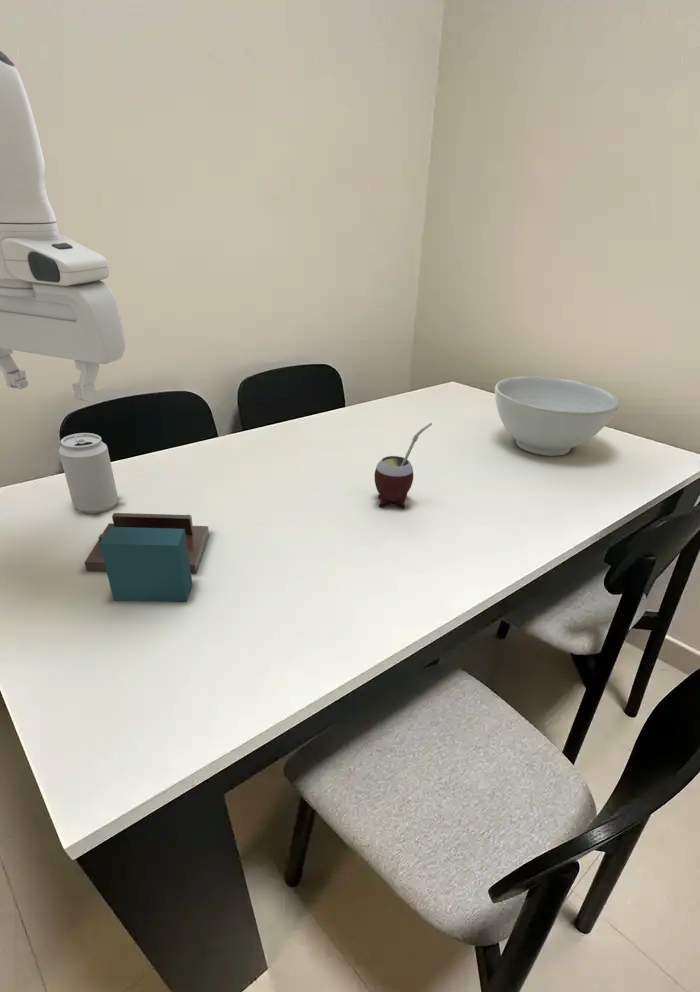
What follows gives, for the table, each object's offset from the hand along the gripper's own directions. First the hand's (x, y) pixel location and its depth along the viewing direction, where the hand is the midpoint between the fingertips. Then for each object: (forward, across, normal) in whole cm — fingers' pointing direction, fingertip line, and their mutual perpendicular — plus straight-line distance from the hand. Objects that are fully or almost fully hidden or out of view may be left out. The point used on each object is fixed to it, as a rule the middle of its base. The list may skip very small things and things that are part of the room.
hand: (52, 393), depth 68 cm
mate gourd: (+26, +34, +42) cm, 60 cm away
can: (+26, -15, +20) cm, 36 cm away
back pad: (+26, +9, 0) cm, 28 cm away
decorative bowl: (+26, +59, +85) cm, 106 cm away
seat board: (+26, +2, +10) cm, 28 cm away
